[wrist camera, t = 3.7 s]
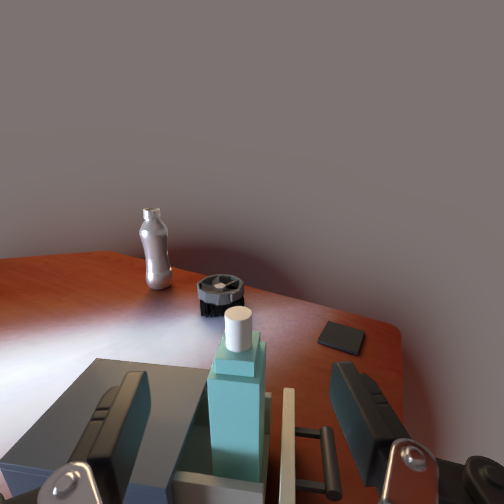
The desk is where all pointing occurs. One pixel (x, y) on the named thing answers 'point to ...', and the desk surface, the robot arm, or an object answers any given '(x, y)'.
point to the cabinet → (78, 415)
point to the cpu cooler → (220, 293)
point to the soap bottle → (238, 399)
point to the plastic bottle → (155, 250)
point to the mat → (342, 337)
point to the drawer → (252, 493)
